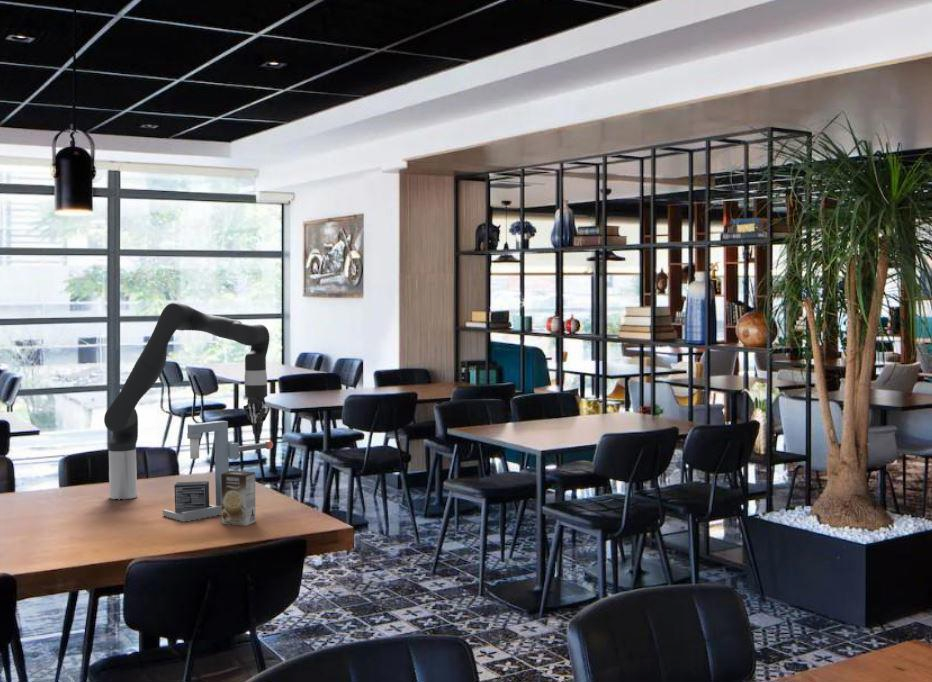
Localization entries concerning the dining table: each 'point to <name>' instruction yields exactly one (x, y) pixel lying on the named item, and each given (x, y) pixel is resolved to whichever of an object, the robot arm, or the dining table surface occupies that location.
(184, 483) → the small box
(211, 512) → the press
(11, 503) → the dining table surface
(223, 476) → the coffee box
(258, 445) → the lever
